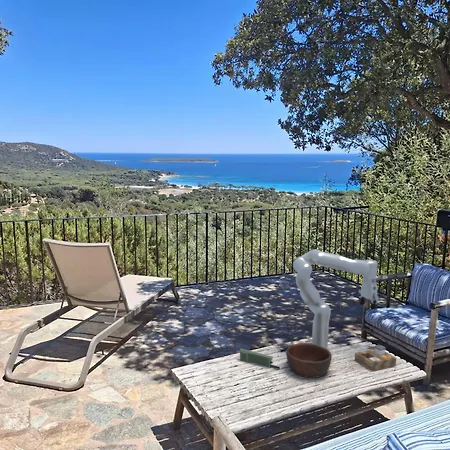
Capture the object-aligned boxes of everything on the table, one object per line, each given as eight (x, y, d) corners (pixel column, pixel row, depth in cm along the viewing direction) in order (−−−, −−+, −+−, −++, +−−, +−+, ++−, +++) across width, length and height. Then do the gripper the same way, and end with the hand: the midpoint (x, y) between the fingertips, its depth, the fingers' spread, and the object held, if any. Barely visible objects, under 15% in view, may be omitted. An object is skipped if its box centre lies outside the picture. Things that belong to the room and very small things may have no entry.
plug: (379, 361, 238) (380, 348, 237) (373, 358, 242) (374, 345, 241) (384, 360, 240) (385, 347, 239) (379, 357, 244) (380, 344, 243)
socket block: (371, 371, 228) (372, 362, 227) (354, 360, 241) (355, 352, 240) (395, 366, 235) (396, 357, 234) (378, 355, 248) (378, 347, 247)
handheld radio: (241, 358, 242) (281, 368, 230) (239, 360, 239) (278, 371, 227) (241, 347, 241) (281, 357, 229) (239, 350, 238) (278, 360, 226)
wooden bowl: (319, 385, 212) (320, 366, 211) (277, 370, 227) (278, 353, 226) (337, 367, 232) (338, 350, 230) (298, 355, 247) (298, 339, 245)
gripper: (384, 283, 245) (382, 310, 247) (365, 276, 261) (363, 302, 263) (374, 284, 242) (372, 312, 244) (355, 277, 258) (353, 303, 261)
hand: (367, 306), depth 254 cm, fingers open, 9 cm apart
